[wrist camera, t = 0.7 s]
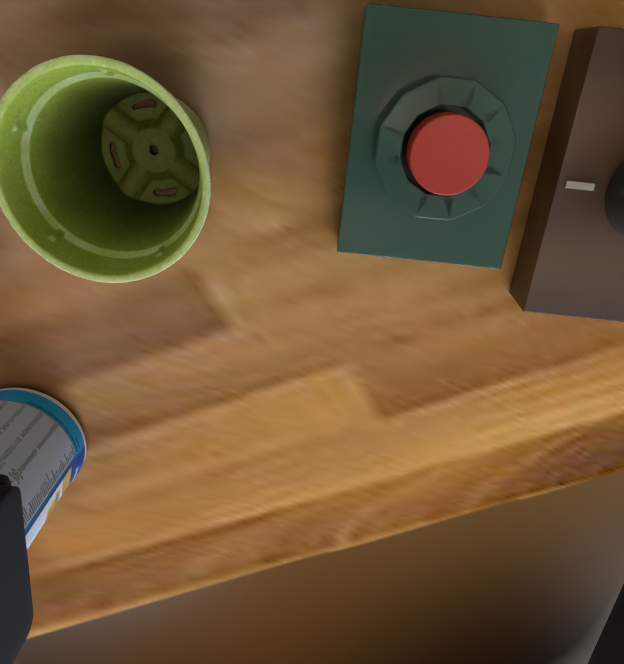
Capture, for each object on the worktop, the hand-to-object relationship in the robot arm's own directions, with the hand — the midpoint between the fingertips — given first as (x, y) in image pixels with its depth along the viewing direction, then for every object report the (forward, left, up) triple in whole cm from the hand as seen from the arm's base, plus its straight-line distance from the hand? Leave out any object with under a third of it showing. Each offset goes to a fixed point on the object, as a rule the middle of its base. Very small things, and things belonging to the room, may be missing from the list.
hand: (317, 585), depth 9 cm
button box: (-4, +5, -27) cm, 27 cm away
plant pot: (-2, -10, -27) cm, 29 cm away
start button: (-4, +5, -23) cm, 24 cm away
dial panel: (-3, +16, -27) cm, 31 cm away
